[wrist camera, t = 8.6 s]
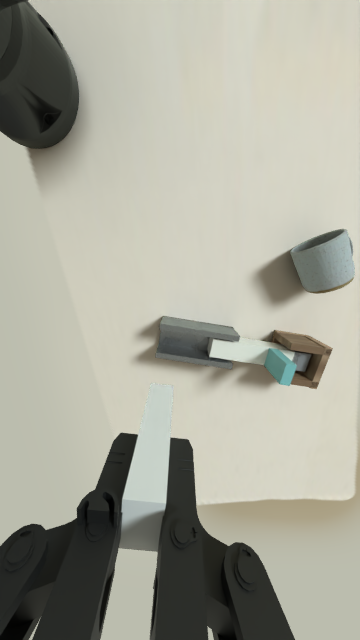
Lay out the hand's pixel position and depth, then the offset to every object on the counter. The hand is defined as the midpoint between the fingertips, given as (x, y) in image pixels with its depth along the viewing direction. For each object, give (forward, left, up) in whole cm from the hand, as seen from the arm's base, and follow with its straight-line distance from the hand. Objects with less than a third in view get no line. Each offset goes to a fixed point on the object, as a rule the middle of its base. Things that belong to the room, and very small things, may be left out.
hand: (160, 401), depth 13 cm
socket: (+4, +24, -26) cm, 35 cm away
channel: (+4, +5, -26) cm, 27 cm away
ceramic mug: (-14, +24, -26) cm, 38 cm away
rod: (+4, +16, -25) cm, 30 cm away
